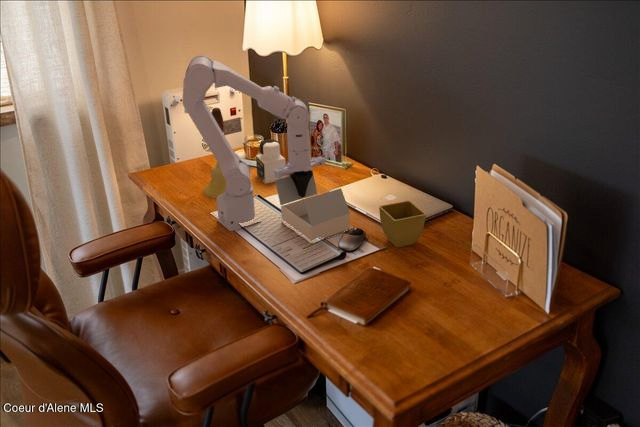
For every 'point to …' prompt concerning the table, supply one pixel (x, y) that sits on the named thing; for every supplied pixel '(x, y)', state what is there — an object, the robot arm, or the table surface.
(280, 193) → the far flap
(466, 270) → the table surface
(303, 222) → the storage box
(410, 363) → the table surface
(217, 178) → the handbell
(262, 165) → the medicine bottle
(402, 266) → the table surface
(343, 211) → the near flap
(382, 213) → the flower pot
